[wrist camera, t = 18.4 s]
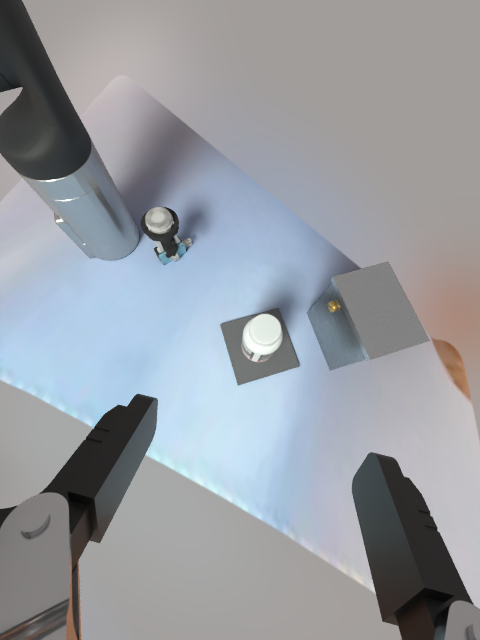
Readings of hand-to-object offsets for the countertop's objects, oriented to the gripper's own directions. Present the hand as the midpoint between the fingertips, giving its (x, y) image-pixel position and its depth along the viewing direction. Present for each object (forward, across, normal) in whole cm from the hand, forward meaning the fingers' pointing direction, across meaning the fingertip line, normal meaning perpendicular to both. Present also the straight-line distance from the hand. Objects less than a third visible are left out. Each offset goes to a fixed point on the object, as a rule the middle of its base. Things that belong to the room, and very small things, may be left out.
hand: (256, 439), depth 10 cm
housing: (+33, -13, +11) cm, 37 cm away
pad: (+29, -1, +14) cm, 32 cm away
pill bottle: (+29, -1, +14) cm, 32 cm away
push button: (+38, +17, +5) cm, 42 cm away
